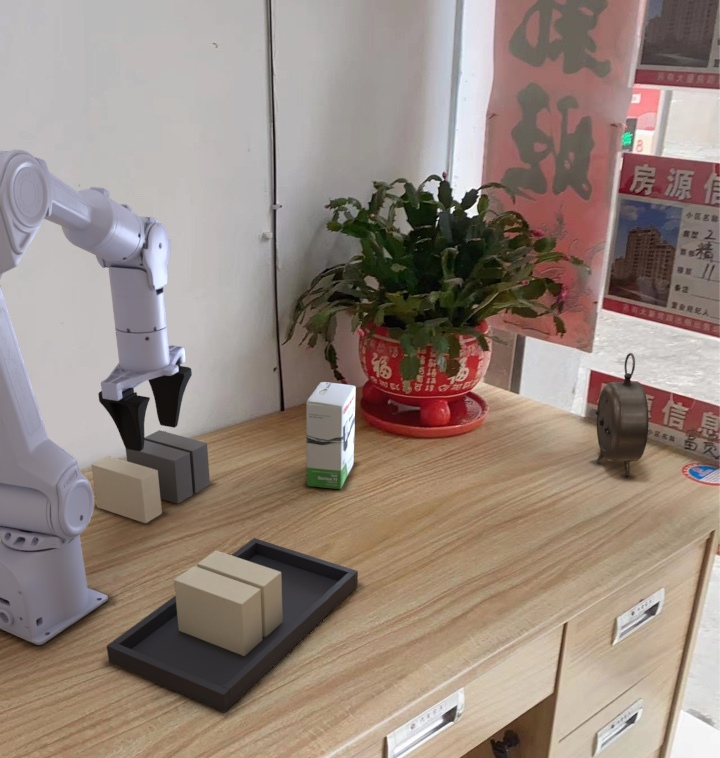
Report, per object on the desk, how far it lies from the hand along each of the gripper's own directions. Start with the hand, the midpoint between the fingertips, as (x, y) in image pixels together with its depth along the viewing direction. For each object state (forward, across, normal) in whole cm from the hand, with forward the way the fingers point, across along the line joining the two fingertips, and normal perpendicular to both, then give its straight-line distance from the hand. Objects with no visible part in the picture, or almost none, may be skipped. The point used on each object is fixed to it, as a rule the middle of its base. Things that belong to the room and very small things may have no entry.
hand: (152, 436), depth 106 cm
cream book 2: (+9, -18, -21) cm, 29 cm away
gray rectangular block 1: (+10, +4, +2) cm, 11 cm away
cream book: (+10, -2, +3) cm, 10 cm away
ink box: (+10, +17, -16) cm, 26 cm away
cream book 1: (+9, -22, -20) cm, 31 cm away
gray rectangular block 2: (+10, +7, +2) cm, 12 cm away
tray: (+10, -18, -21) cm, 29 cm away
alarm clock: (+10, +36, -52) cm, 64 cm away
